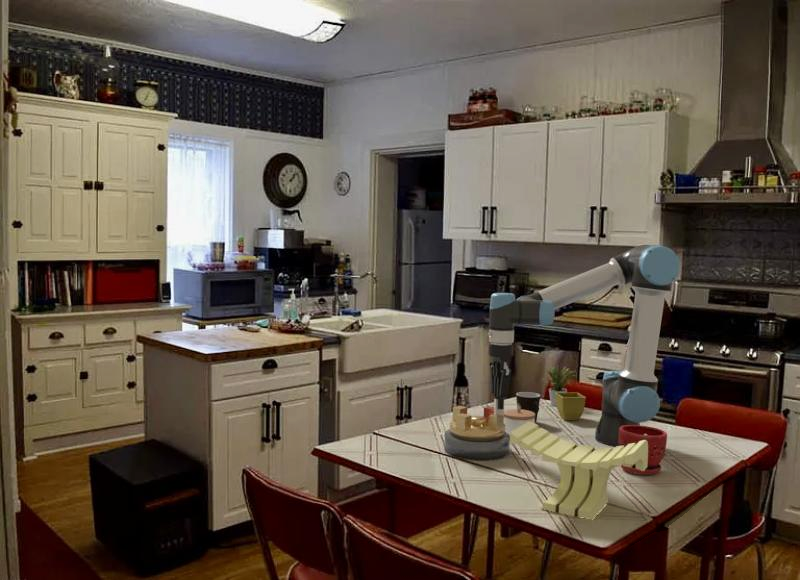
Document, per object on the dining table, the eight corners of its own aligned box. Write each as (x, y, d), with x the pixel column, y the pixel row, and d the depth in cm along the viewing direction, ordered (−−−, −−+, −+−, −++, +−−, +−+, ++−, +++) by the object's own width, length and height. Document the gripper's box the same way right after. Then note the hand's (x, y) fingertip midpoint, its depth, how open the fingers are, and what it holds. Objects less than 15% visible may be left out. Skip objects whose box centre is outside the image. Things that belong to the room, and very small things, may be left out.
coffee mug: (514, 418, 267) (515, 391, 266) (538, 419, 266) (539, 392, 265) (515, 426, 255) (516, 398, 255) (540, 428, 254) (541, 399, 254)
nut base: (522, 451, 227) (522, 434, 226) (483, 465, 212) (483, 447, 212) (471, 437, 240) (471, 422, 240) (431, 449, 226) (431, 433, 225)
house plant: (569, 411, 279) (571, 369, 278) (534, 406, 286) (536, 365, 285) (580, 404, 291) (582, 364, 290) (546, 400, 298) (548, 360, 297)
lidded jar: (536, 440, 239) (538, 412, 238) (504, 439, 239) (505, 411, 238) (531, 431, 249) (532, 404, 249) (500, 430, 250) (501, 403, 249)
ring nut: (515, 434, 226) (516, 412, 226) (482, 445, 214) (483, 421, 213) (472, 423, 238) (472, 402, 237) (438, 433, 225) (438, 410, 225)
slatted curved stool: (645, 507, 182) (648, 436, 180) (630, 528, 168) (633, 452, 166) (530, 484, 197) (532, 419, 195) (507, 502, 183) (510, 432, 182)
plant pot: (660, 480, 202) (662, 438, 201) (612, 472, 208) (614, 431, 207) (668, 468, 213) (670, 427, 212) (622, 460, 219) (624, 421, 218)
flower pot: (554, 416, 272) (555, 392, 271) (576, 415, 273) (577, 392, 272) (561, 422, 263) (562, 397, 263) (585, 422, 264) (586, 397, 264)
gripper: (482, 340, 230) (480, 414, 232) (497, 346, 217) (494, 424, 219) (504, 340, 232) (502, 413, 234) (520, 346, 219) (518, 423, 221)
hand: (498, 418), depth 226 cm, fingers closed
